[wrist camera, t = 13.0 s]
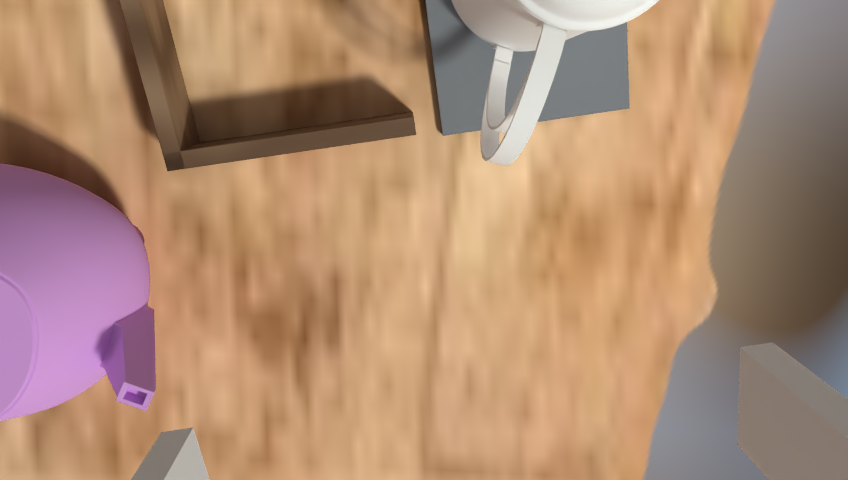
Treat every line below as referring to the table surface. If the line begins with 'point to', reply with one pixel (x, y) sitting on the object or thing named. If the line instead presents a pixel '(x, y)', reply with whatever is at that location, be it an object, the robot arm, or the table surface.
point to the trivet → (523, 72)
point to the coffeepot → (545, 34)
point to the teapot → (70, 296)
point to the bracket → (177, 120)
